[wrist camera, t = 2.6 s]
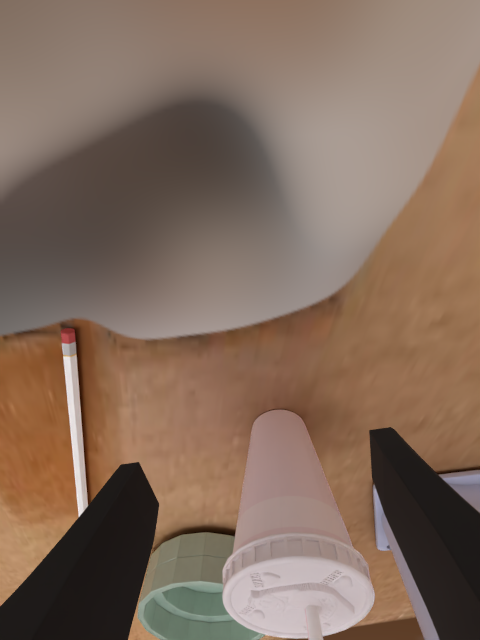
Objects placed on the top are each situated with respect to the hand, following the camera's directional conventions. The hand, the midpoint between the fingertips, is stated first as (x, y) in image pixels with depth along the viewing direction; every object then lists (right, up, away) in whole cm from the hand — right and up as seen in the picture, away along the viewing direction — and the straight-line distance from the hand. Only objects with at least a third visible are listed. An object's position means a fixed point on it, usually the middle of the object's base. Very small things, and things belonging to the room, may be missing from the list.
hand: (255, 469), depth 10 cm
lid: (-3, -17, +19) cm, 26 cm away
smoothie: (+2, -3, +12) cm, 13 cm away
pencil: (-12, -4, +13) cm, 18 cm away
